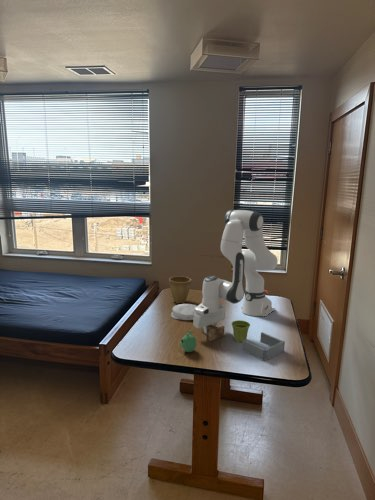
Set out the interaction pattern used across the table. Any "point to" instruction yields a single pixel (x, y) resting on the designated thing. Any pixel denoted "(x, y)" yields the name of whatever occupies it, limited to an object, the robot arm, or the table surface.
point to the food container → (183, 311)
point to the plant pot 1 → (179, 288)
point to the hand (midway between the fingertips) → (209, 331)
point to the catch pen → (261, 353)
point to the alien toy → (188, 342)
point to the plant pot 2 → (240, 330)
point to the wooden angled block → (214, 332)
